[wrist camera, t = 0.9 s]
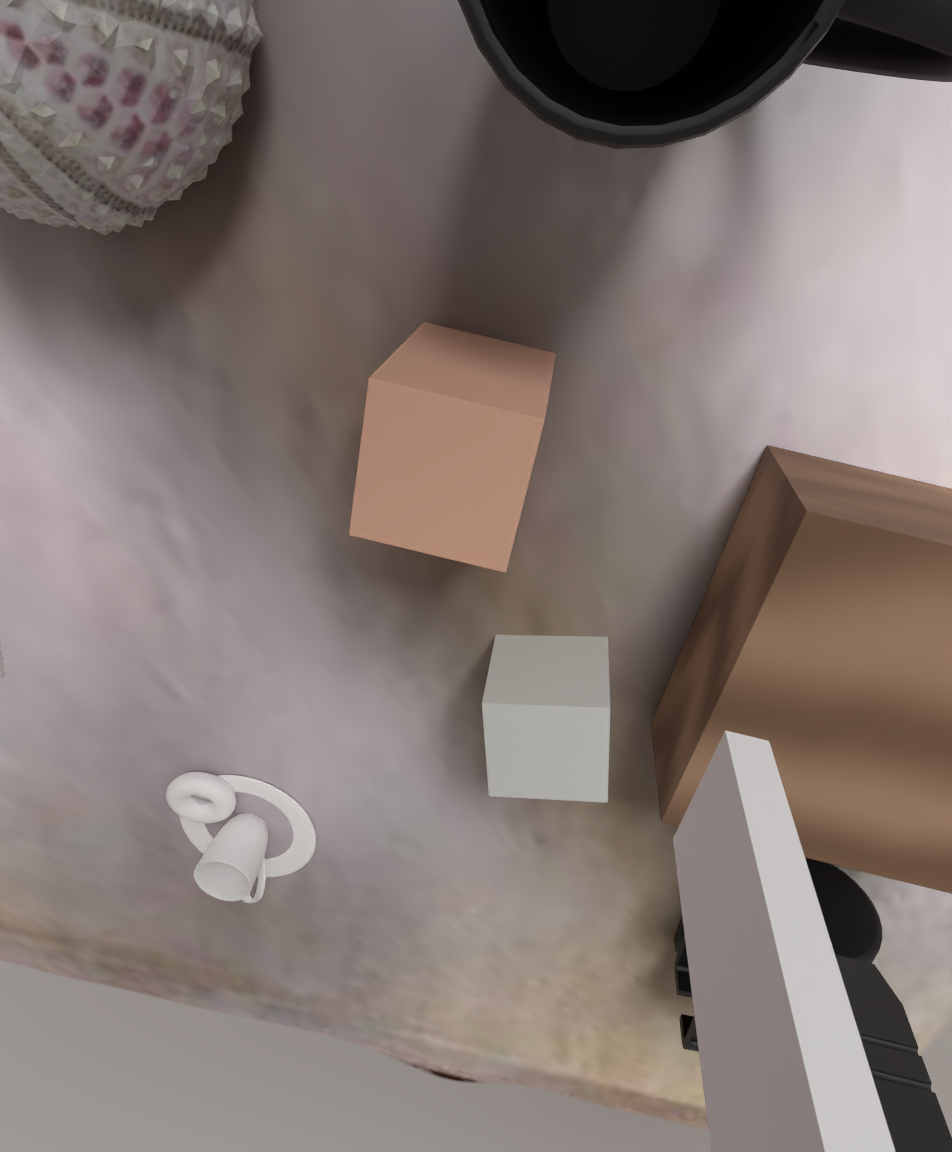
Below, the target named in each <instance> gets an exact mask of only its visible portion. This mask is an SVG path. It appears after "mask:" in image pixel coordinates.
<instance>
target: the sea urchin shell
mask: <svg viewBox="0 0 952 1152" xmlns="http://www.w3.org/2000/svg"><path fill="white" fill-rule="evenodd" d="M257 1H258V0H0V207H2V208H3V209H4V210H5V211H6V212H7V213H8V214H9V213H13V214H14V215H15V216H16V217H17V218H18V219H33V220H34V221H35V222H37V223H41V224H49V225H51V226H53V227H60V226H63V225H66V224H67V225H69V226H72V227H74V228H77V227H79V226H81V225H82V226H84V227H85V228H87V229H88V230H90V229H93V230H95V231H97V232H99V233H101V234H103V235H107V234H109V233H110V232H111V231H114V232H117V233H119V232H120V231H121V230H122V229H123V228H124V227H125V226H126V224H127V225H132V226H137V227H142V225H143V223H144V221H145V220H153V218H154V216H155V214H156V212H157V209H158V208H159V207H160V206H161V205H162V204H163V203H164V202H165V201H171V200H180V199H181V196H182V193H183V190H184V189H186V188H188V187H189V186H190V184H191V183H193V182H194V181H201V180H203V179H204V178H206V176H207V170H208V165H210V164H212V163H215V162H216V160H217V157H218V154H219V151H220V150H221V149H222V147H224V146H225V145H227V144H229V143H230V142H232V125H233V124H234V123H235V122H236V121H237V119H238V118H239V117H240V116H241V115H242V114H243V108H242V103H241V100H242V95H243V94H244V93H245V92H246V91H247V90H248V89H249V88H250V77H249V67H250V61H251V56H252V51H253V49H254V48H255V46H256V45H257V44H258V42H259V41H260V40H261V38H262V37H263V33H262V31H261V28H260V26H259V24H258V21H257V19H256V3H257Z"/></svg>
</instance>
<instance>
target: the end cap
mask: <svg viewBox="0 0 952 1152" xmlns="http://www.w3.org/2000/svg"><path fill="white" fill-rule="evenodd" d="M805 859H806V862H807V866H808V869H809V872H810V875H811V879H812V882H813V885H814V888H815V892H816V895H817V898H818V901H819V905H820V908H821V911H822V914H823V918H824V921H825V924H826V927H827V931H828V934H829V937H830V940H831V944H832V947H833V950H834V953H835V955H839V956H843V957H847V958H851V959H855V960H859V961H863V962H867V963H871V964H872V962H873V960H874V959H875V957H876V955H877V953H878V951H879V949H880V946H881V942H882V926H881V922H880V918H879V915H878V913H877V911H876V909H875V906H874V904H873V903H872V901H871V900H870V898H869V897H868V896H867V894H866V893H865V892H864V891H863V890H862V888H861V887H860V886H859V885H858V884H857V883H856V882H855V881H854V880H853V879H851V878H850V877H849V876H848V875H847V874H845V873H844V872H843V871H841V870H840V869H838V868H837V867H835V866H834V865H832V864H830V863H826V862H822V861H818V860H814V859H810V858H805ZM674 942H675V950H676V951H677V952H678V954H677V957H676V961H675V979H676V988H677V995H681V996H687V997H692V991H691V983H690V975H689V966H688V958H687V950H686V942H685V934H684V926H683V917H681V920H680V923H679V926H678V929H677V932H676V935H675V938H674ZM680 1028H681V1038H682V1045H683V1048H684V1049H688V1050H693V1051H699V1048H698V1040H697V1032H696V1024H695V1015H694V1017H693V1016H687V1015H682V1014H681V1017H680Z"/></svg>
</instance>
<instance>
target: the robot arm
mask: <svg viewBox="0 0 952 1152" xmlns="http://www.w3.org/2000/svg"><path fill="white" fill-rule="evenodd" d="M4 675H5V672H4V665H3V659H2V652H1V645H0V679H1V678H2V677H3V676H4ZM673 844H674V852H675V860H676V868H677V877H678V885H679V893H680V901H681V909H682V917H683V926H684V934H685V942H686V950H687V958H688V966H689V975H690V983H691V991H692V999H693V1007H694V1015H695V1024H696V1032H697V1040H698V1048H699V1056H700V1065H701V1073H702V1081H703V1089H704V1097H705V1105H706V1114H707V1122H708V1130H709V1138H710V1146H711V1152H952V1137H951V1135H950V1132H949V1129H948V1127H947V1124H946V1121H945V1118H944V1116H943V1113H942V1111H941V1108H940V1105H939V1102H938V1100H937V1097H936V1094H935V1093H934V1092H932V1091H931V1081H930V1078H929V1075H928V1072H927V1070H926V1067H925V1064H924V1062H923V1059H922V1056H919V1055H918V1052H917V1050H918V1045H917V1043H916V1040H915V1037H914V1035H913V1032H912V1029H911V1026H910V1024H909V1021H908V1018H907V1016H906V1013H905V1010H904V1007H903V1005H902V1003H901V1002H900V1000H899V999H898V998H897V996H896V995H895V993H894V992H893V990H892V989H891V988H890V986H889V985H888V983H887V982H886V980H885V979H884V978H883V976H882V975H881V973H880V972H879V971H878V969H877V968H876V966H875V965H874V964H871V963H867V962H863V961H859V960H855V959H851V958H847V957H843V956H839V955H835V953H834V950H833V947H832V944H831V940H830V937H829V934H828V931H827V927H826V924H825V921H824V918H823V914H822V911H821V908H820V905H819V901H818V898H817V895H816V892H815V888H814V885H813V882H812V879H811V875H810V872H809V869H808V866H807V862H806V859H805V856H804V853H803V849H802V846H801V843H800V840H799V836H798V833H797V830H796V827H795V823H794V820H793V817H792V814H791V810H790V807H789V804H788V801H787V797H786V794H785V791H784V788H783V784H782V781H781V778H780V775H779V771H778V768H777V765H776V762H775V758H774V755H773V752H772V749H771V745H770V742H769V741H767V740H763V739H759V738H755V737H751V736H747V735H742V734H738V733H734V732H730V731H726V730H725V732H724V734H723V736H722V738H721V740H720V742H719V744H718V746H717V748H716V750H715V753H714V755H713V757H712V759H711V761H710V763H709V765H708V767H707V769H706V771H705V773H704V775H703V777H702V779H701V782H700V784H699V786H698V788H697V790H696V792H695V794H694V796H693V798H692V800H691V802H690V804H689V806H688V808H687V811H686V813H685V815H684V817H683V819H682V821H681V823H680V825H679V827H678V829H677V831H676V833H675V835H674V837H673Z"/></svg>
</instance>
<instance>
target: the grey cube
mask: <svg viewBox="0 0 952 1152" xmlns="http://www.w3.org/2000/svg"><path fill="white" fill-rule="evenodd" d="M482 712H483V725H484V739H485V752H486V765H487V779H488V792H489V796H494V797H513V798H532V799H551V800H569V801H588V802H607V803H608V771H609V736H610V683H609V653H608V637H584V636H535V635H495V640H494V645H493V650H492V655H491V660H490V665H489V670H488V675H487V680H486V685H485V690H484V695H483V700H482Z"/></svg>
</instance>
